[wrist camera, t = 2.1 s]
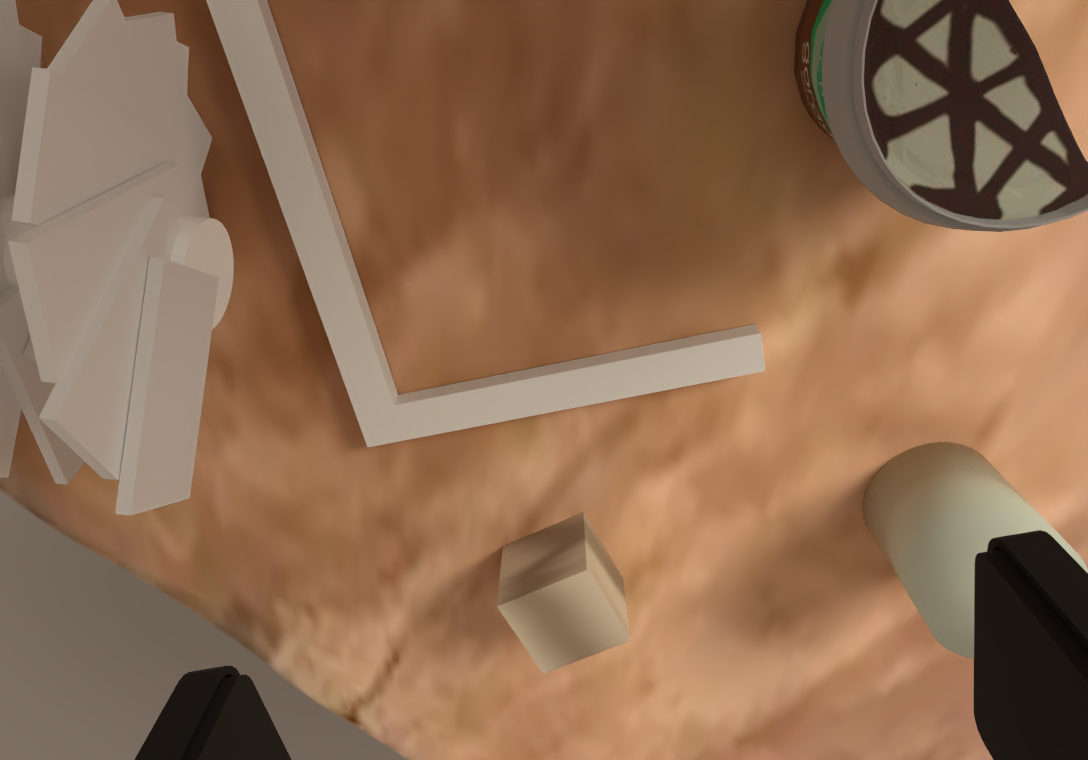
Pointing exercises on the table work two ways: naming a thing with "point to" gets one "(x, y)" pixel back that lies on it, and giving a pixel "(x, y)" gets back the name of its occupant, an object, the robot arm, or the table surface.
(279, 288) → the table surface
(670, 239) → the table surface
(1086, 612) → the robot arm
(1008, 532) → the pale green cylinder
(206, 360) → the spiral staircase
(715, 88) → the table surface
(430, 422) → the corral
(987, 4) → the food container
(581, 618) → the birch block
